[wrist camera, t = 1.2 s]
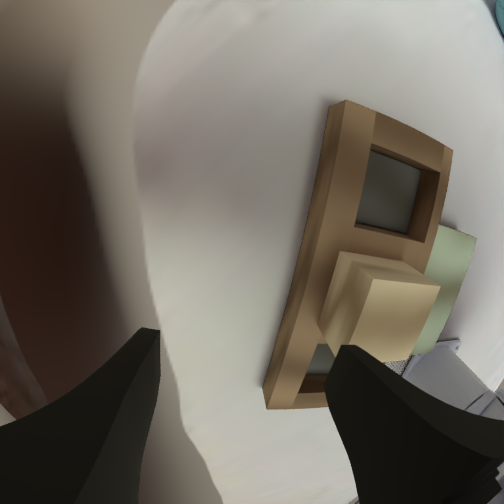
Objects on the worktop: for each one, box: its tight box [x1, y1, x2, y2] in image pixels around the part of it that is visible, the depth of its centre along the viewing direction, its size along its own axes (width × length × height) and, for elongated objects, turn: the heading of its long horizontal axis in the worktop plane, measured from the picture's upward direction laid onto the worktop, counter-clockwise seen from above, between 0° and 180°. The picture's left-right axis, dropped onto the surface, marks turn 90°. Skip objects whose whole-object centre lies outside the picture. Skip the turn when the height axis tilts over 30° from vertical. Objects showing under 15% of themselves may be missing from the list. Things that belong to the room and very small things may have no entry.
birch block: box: [317, 251, 441, 362], centre depth 14 cm, size 5×5×4 cm
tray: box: [262, 100, 477, 409], centre depth 18 cm, size 22×14×2 cm, turn 170°
